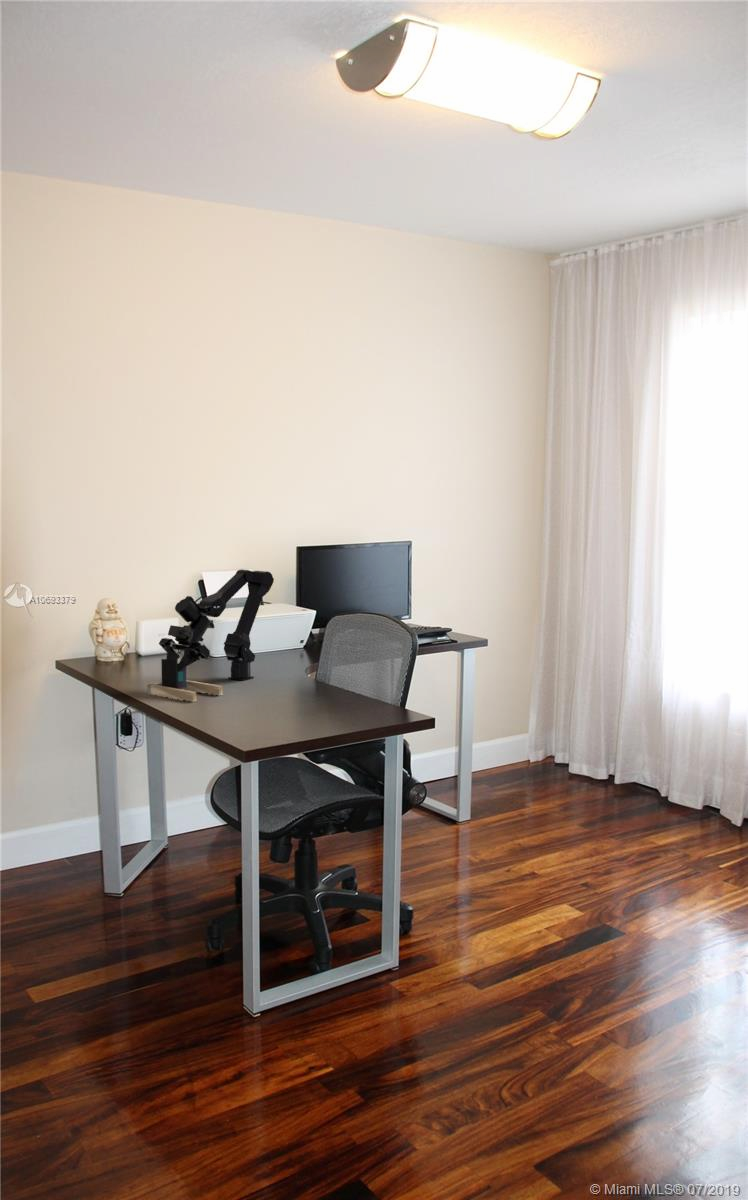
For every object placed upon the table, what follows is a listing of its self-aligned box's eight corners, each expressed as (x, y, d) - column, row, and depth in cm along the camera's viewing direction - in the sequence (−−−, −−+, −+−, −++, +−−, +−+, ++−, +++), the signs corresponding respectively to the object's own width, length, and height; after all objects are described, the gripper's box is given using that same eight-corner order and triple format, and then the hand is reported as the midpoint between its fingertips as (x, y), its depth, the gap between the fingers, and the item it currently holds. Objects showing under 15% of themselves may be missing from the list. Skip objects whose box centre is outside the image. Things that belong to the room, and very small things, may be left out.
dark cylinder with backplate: (175, 691, 308) (173, 658, 309) (161, 691, 311) (160, 659, 312) (191, 689, 315) (189, 657, 315) (177, 689, 318) (176, 658, 318)
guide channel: (177, 687, 323) (177, 678, 322) (222, 695, 311) (222, 685, 310) (147, 694, 312) (147, 684, 312) (192, 702, 300) (192, 692, 300)
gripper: (162, 613, 320) (137, 651, 312) (202, 618, 309) (177, 657, 302) (180, 634, 327) (156, 671, 320) (220, 639, 317) (197, 678, 309)
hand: (171, 669), depth 312 cm, fingers closed on dark cylinder with backplate, 5 cm apart
